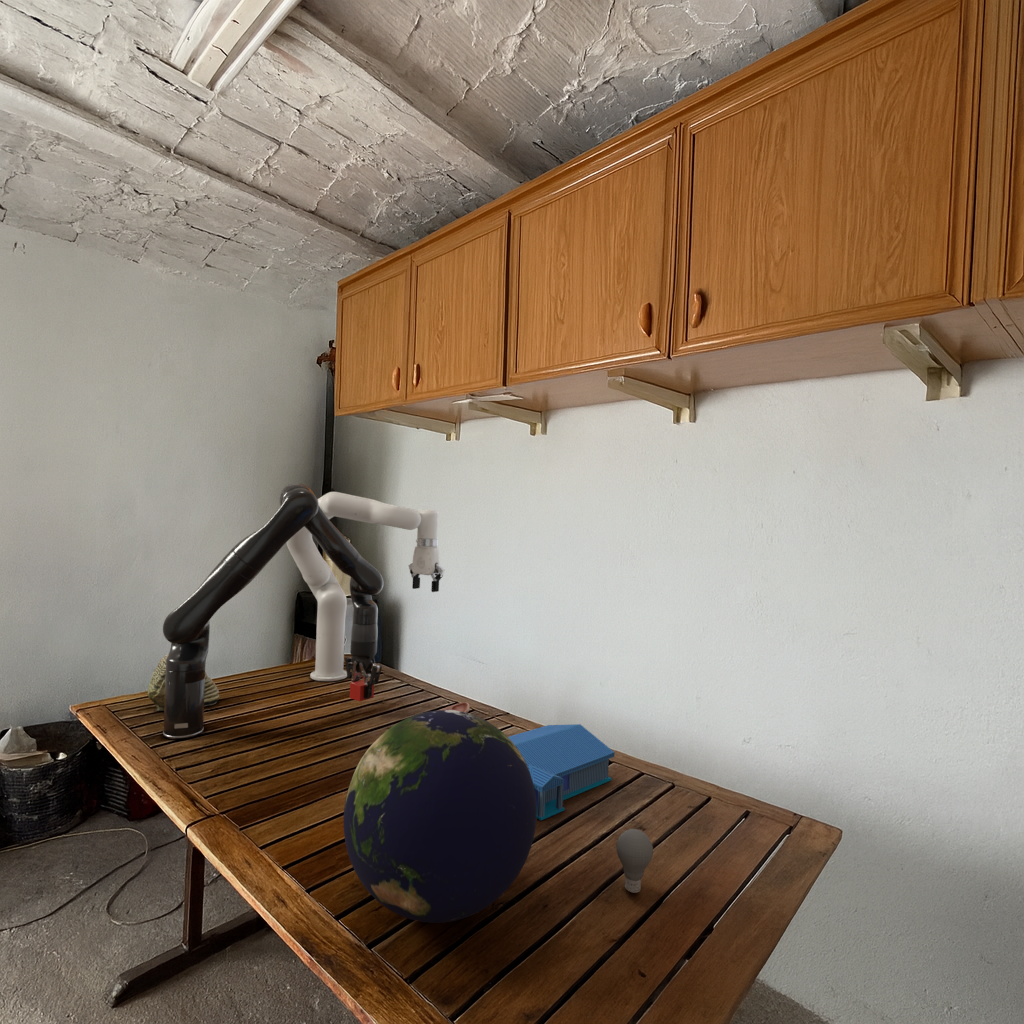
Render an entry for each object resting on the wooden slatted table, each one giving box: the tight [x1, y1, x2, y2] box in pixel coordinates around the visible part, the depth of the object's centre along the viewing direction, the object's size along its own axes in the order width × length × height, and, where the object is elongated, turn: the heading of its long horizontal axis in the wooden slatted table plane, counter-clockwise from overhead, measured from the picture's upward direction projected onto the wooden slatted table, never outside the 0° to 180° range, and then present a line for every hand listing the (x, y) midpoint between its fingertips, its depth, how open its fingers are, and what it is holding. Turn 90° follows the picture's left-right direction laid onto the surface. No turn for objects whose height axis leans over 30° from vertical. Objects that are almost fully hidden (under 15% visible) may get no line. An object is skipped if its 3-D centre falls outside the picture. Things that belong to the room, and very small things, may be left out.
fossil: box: [147, 654, 221, 712], centre depth 185 cm, size 9×18×15 cm, turn 132°
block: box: [349, 679, 375, 702], centre depth 185 cm, size 4×5×4 cm
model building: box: [507, 723, 615, 821], centre depth 141 cm, size 39×24×10 cm, turn 132°
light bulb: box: [615, 828, 654, 894], centre depth 106 cm, size 6×6×10 cm
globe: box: [343, 709, 537, 924], centre depth 100 cm, size 30×30×30 cm
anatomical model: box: [436, 701, 470, 713], centre depth 184 cm, size 13×4×12 cm
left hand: (361, 695), depth 185 cm, fingers closed on block, 4 cm apart
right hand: (425, 590), depth 231 cm, fingers open, 9 cm apart
